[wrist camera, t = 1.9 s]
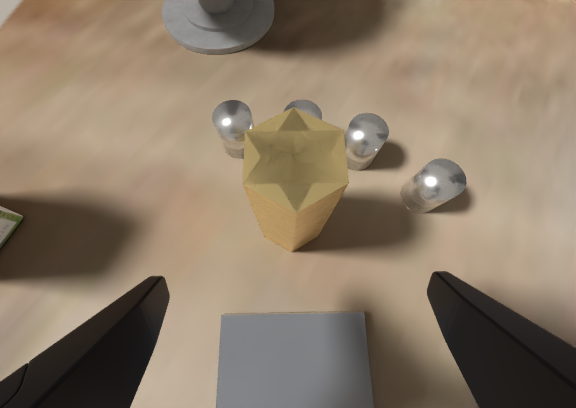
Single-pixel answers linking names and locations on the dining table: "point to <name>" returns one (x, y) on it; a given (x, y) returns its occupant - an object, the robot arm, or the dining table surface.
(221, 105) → the cylinder
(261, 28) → the mate gourd
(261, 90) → the dining table surface
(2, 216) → the small white pieces
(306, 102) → the cylinder
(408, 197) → the cylinder
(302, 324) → the coaster
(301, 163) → the tan faceted block
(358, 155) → the cylinder
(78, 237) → the dining table surface
